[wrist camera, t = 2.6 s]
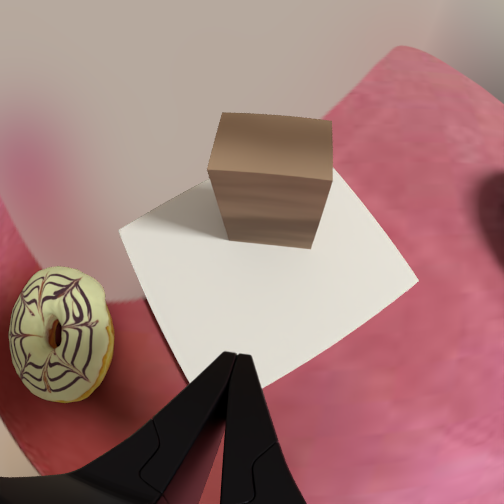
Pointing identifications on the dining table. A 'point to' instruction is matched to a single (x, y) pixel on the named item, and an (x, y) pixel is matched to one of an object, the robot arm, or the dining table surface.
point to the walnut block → (271, 177)
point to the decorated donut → (73, 335)
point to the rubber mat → (261, 282)
